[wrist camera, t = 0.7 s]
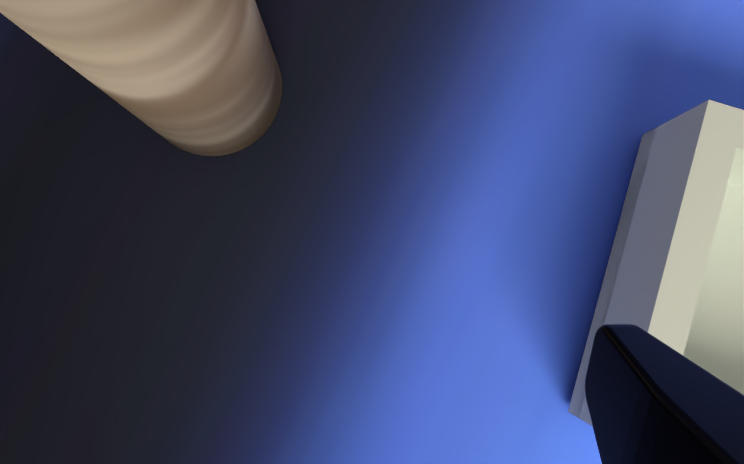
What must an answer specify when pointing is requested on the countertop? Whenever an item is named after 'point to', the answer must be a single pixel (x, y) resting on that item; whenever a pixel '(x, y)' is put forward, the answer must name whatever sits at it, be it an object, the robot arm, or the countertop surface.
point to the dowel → (168, 63)
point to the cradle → (681, 246)
